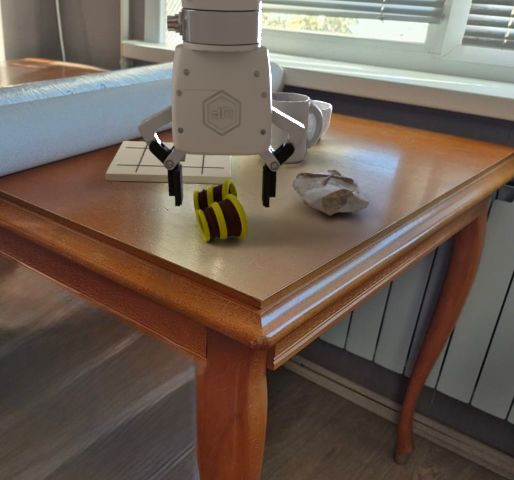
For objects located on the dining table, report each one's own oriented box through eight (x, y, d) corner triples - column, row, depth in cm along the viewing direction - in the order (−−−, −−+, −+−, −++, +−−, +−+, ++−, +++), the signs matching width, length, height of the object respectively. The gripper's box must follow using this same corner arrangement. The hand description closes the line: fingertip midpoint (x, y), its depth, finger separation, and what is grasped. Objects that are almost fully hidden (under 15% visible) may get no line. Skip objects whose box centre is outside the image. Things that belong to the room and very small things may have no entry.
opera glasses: (197, 220, 74) (188, 181, 71) (240, 212, 74) (233, 172, 71) (203, 254, 66) (194, 210, 63) (251, 244, 66) (244, 200, 63)
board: (105, 180, 82) (105, 172, 82) (123, 147, 97) (123, 140, 96) (231, 184, 83) (231, 176, 83) (230, 150, 98) (230, 143, 97)
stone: (284, 188, 83) (285, 164, 81) (348, 187, 84) (351, 163, 83) (305, 221, 73) (307, 194, 71) (377, 218, 75) (381, 192, 73)
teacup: (286, 130, 111) (289, 98, 108) (329, 132, 110) (332, 101, 107) (283, 144, 102) (285, 110, 99) (329, 147, 102) (332, 113, 99)
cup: (253, 151, 98) (255, 92, 93) (311, 149, 100) (316, 91, 95) (268, 164, 92) (271, 102, 87) (328, 161, 95) (335, 101, 90)
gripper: (125, 32, 55) (140, 214, 64) (315, 37, 56) (303, 215, 65) (136, 24, 61) (148, 191, 70) (306, 28, 62) (296, 192, 71)
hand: (222, 202), depth 68 cm, fingers open, 9 cm apart
